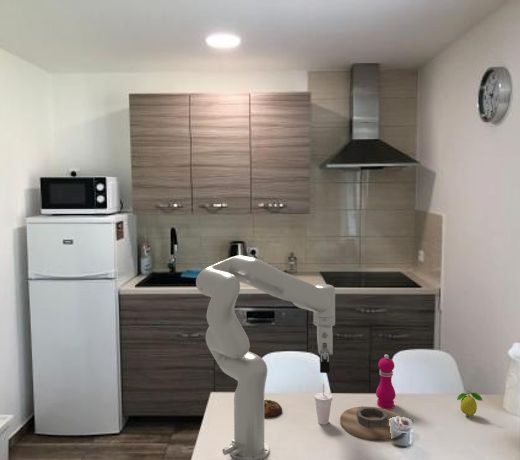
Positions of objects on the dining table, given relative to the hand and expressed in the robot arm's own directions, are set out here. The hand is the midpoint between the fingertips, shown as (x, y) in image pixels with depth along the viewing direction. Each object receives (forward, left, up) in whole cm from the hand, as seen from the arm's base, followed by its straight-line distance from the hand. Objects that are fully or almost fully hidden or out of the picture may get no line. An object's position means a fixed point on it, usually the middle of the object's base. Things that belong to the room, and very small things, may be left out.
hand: (324, 367), depth 171 cm
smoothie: (0, 0, -20) cm, 20 cm away
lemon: (+42, -34, -20) cm, 57 cm away
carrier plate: (+11, -13, -20) cm, 26 cm away
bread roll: (-8, +20, -21) cm, 30 cm away
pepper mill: (+28, -8, -20) cm, 35 cm away
